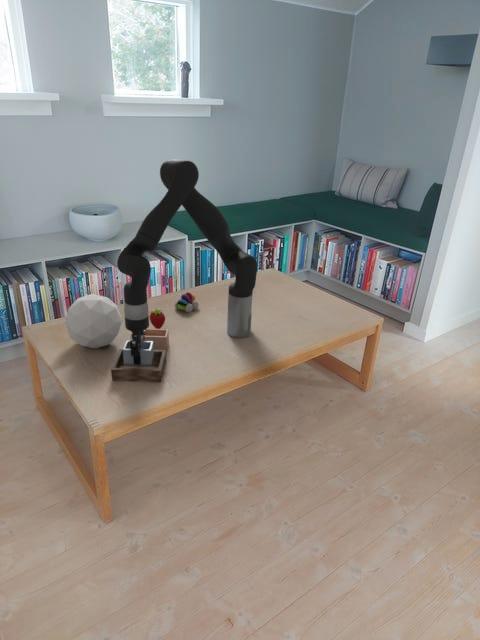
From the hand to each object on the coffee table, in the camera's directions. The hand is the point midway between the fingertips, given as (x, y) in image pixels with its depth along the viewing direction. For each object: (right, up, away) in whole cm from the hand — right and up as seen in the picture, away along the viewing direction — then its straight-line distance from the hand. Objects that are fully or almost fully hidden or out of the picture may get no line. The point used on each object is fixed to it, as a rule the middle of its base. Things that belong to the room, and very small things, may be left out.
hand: (139, 358), depth 156 cm
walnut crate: (0, -4, +2) cm, 5 cm away
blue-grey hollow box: (0, -1, 0) cm, 1 cm away
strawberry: (+1, +9, +28) cm, 30 cm away
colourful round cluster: (+11, +18, +46) cm, 51 cm away
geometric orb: (-19, +4, +17) cm, 26 cm away
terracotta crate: (+3, +3, +17) cm, 17 cm away
